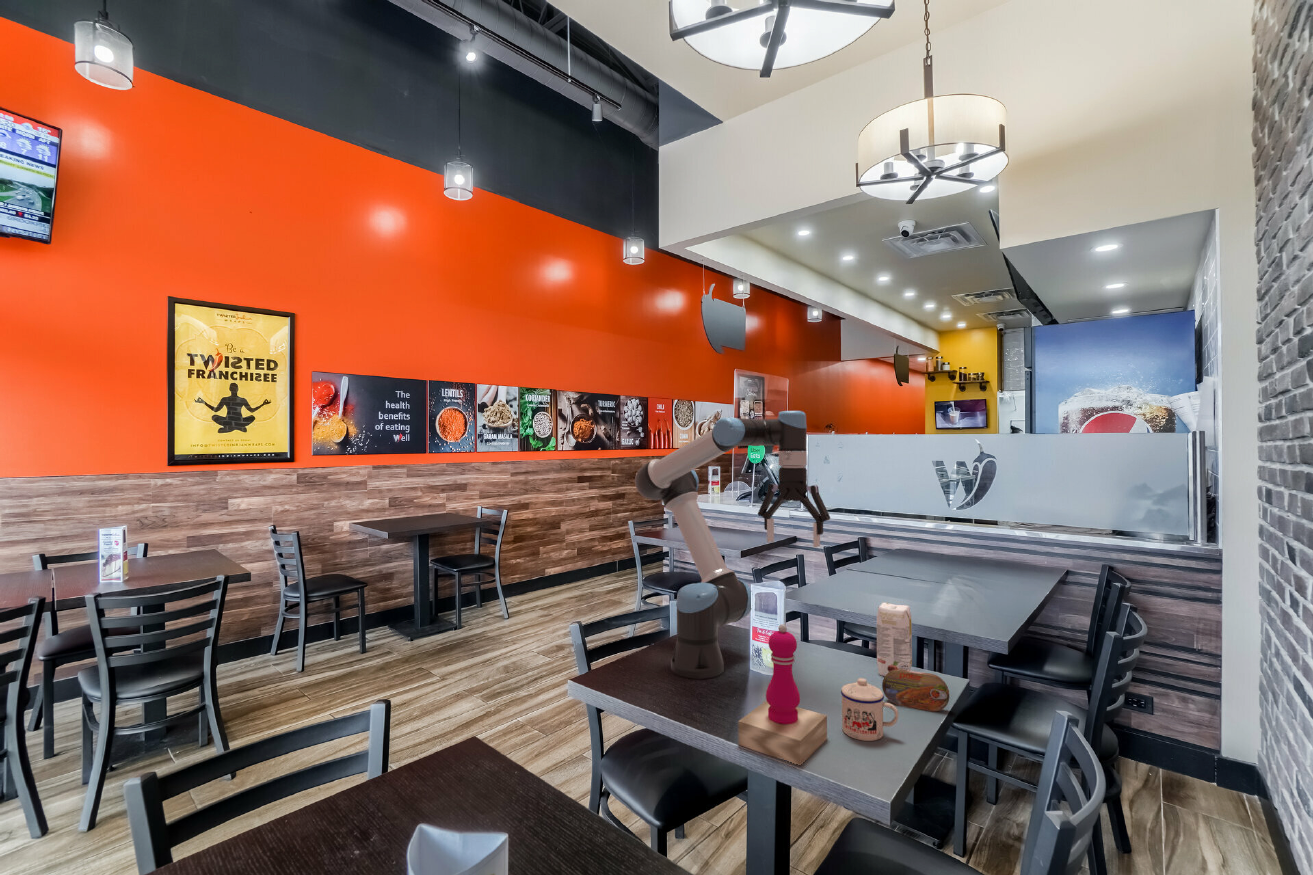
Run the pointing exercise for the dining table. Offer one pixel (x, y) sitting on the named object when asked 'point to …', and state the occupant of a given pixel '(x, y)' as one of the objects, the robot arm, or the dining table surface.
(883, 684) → the tin
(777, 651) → the pepper mill
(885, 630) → the juice carton
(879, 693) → the teacup with lid
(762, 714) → the birch block
